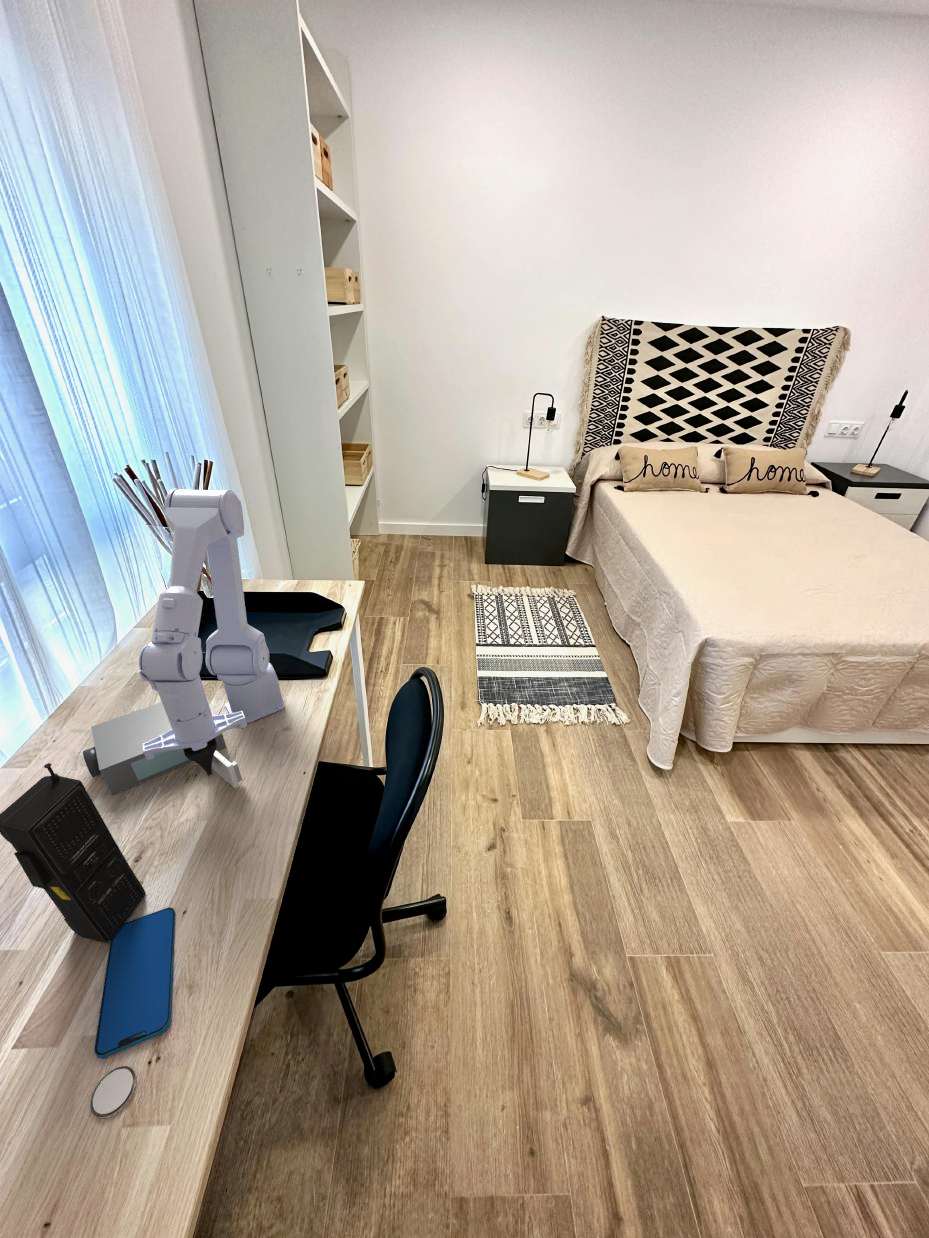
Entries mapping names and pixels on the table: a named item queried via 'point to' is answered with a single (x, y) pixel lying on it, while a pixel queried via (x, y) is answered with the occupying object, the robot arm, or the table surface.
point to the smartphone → (137, 983)
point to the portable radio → (72, 856)
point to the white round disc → (112, 1091)
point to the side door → (226, 769)
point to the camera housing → (134, 749)
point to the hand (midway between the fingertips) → (209, 770)
